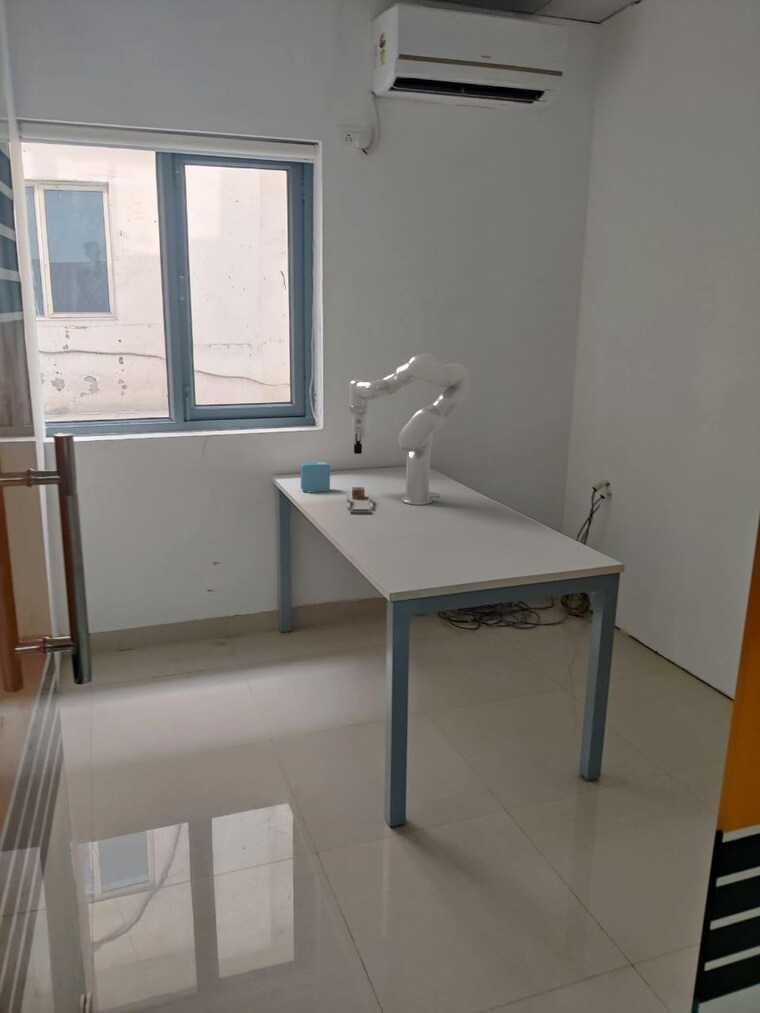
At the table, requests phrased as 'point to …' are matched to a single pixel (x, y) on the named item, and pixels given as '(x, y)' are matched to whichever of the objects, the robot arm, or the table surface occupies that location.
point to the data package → (315, 476)
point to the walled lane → (369, 499)
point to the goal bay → (349, 506)
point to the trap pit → (360, 511)
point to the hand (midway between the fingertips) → (357, 453)
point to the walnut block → (358, 493)
